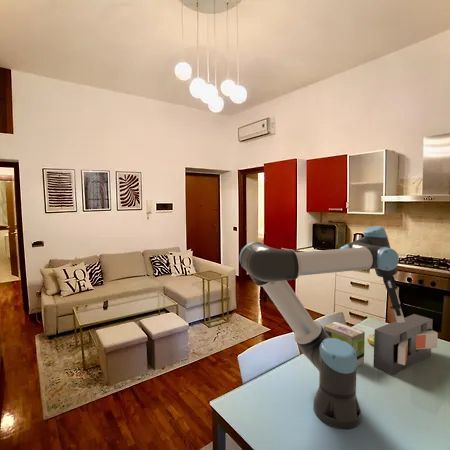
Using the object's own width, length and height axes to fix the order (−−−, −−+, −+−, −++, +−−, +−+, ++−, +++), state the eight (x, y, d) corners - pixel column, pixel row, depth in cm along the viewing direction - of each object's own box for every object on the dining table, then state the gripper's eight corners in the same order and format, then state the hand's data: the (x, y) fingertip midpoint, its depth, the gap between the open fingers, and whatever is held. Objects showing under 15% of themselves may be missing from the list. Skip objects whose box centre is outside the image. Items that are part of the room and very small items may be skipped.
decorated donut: (394, 345, 145) (394, 338, 145) (383, 351, 139) (384, 344, 139) (374, 337, 154) (374, 330, 154) (363, 343, 148) (363, 335, 148)
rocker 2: (414, 349, 129) (415, 334, 129) (409, 346, 132) (410, 332, 132) (437, 347, 131) (438, 332, 131) (432, 344, 134) (432, 330, 134)
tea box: (364, 363, 128) (365, 331, 128) (351, 370, 123) (352, 337, 122) (335, 349, 141) (336, 320, 140) (322, 355, 135) (323, 325, 134)
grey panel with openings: (392, 376, 118) (394, 336, 117) (373, 367, 125) (374, 329, 124) (431, 354, 136) (433, 319, 135) (412, 347, 143) (414, 313, 142)
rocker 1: (405, 365, 117) (406, 348, 116) (397, 363, 118) (398, 346, 118) (407, 353, 126) (408, 337, 126) (400, 351, 128) (401, 336, 128)
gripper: (399, 276, 100) (414, 329, 103) (391, 251, 122) (404, 296, 125) (375, 279, 104) (391, 331, 106) (372, 255, 126) (385, 298, 128)
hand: (398, 312), depth 116 cm, fingers open, 13 cm apart
